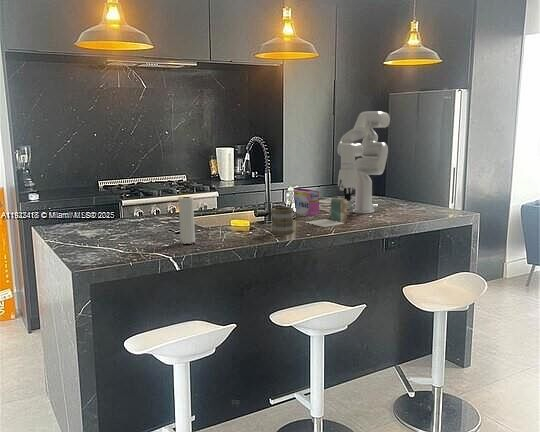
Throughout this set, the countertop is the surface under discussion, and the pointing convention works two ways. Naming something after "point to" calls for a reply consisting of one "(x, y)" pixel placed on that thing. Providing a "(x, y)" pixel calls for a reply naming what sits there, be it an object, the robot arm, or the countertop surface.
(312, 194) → the gum box
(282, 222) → the mug
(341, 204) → the sponge
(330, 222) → the mat
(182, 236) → the paper towel roll
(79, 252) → the countertop surface
